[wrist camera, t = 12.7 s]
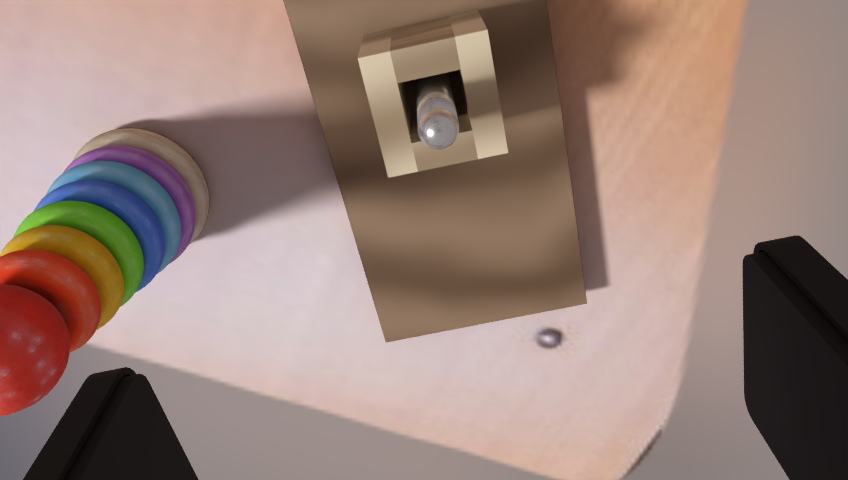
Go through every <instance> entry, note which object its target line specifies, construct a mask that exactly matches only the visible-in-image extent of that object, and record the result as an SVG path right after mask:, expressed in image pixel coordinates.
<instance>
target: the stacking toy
mask: <svg viewBox="0 0 848 480" xmlns="http://www.w3.org/2000/svg"><path fill="white" fill-rule="evenodd" d="M208 211H209V193H208V188H207V184H206V181H205V179H204V176H203V174H202V172H201V170H200V169H199V167H198V165H197V164H196V163H195V161H194V160H193V159H192V158H191V157H190V155H189V154H188V153H187V152H186V151H184V150H183V149H182V148H181V147H180V146H178V145H177V144H176V143H174V142H172V141H171V140H169V139H167V138H165V137H163V136H161V135H159V134H156V133H154V132H150V131H147V130H142V129H133V128H128V129H116V130H112V131H108V132H105V133H103V134H100V135H98V136H96V137H94V138H93V139H91V140H90V141H89V142H87V143H86V144H85V145H84V146H83V147H82V148H81V149H80V151H79V152H78V153H77V155H76V156H75V158H74V160H73V162H72V163H71V164H70V165H69V166H68V167H67V168H66V169H65V171H64V172H63V174H62V175H60V176H59V177H58V178H57V179H56V180H55V181H54V182H53V184H52V185H51V187H50V188H49V190H48V192H47V194H46V196H45V197H44V198H43V199H42V200H41V201H40V202H39V204H38V205H37V207H36V208H35V210H34V212H32V213H31V214H30V215H29V216H27V217H26V218H25V219H24V221H23V222H22V223H21V224H20V226H19V227H18V229H17V231H16V233H15V235H14V238H13V239H12V240H11V241H10V242H8V244H7V245H6V246H5V247H4V249H3V250H2V252H1V254H0V416H3V415H8V414H11V413H15V412H18V411H21V410H23V409H26V408H28V407H30V406H31V405H33V404H35V403H36V402H38V401H39V400H41V399H42V398H43V397H44V396H45V395H47V394H48V393H49V392H50V391H51V389H53V387H54V386H55V385H56V384H57V382H58V381H59V379H60V378H61V376H62V374H63V372H64V370H65V368H66V365H67V362H68V358H69V353H70V352H72V351H74V350H76V349H78V348H80V347H81V346H83V345H84V344H85V343H86V342H87V341H88V340H89V339H90V338H91V337H92V336H93V334H94V333H95V331H96V330H97V329H99V328H100V327H102V326H104V325H105V324H106V323H107V322H108V321H109V320H110V319H111V318H112V317H113V316H114V315H115V314H116V312H117V310H118V309H119V307H121V306H122V305H123V304H125V303H126V302H127V301H128V300H129V299H130V298H131V297H132V296H133V295H134V293H135V292H137V291H139V290H141V289H142V288H143V287H145V286H146V285H147V284H148V283H149V282H150V281H151V280H152V279H153V278H154V277H155V275H156V274H158V273H159V272H160V271H162V270H163V269H164V268H165V267H166V266H167V265H168V264H169V263H171V262H173V261H174V260H175V259H176V258H178V257H179V256H180V255H181V254H182V253H183V251H184V250H185V249H186V247H187V246H188V245H189V244H190V243H191V242H193V241H194V240H195V239H196V237H197V236H198V235H199V234H200V232H201V231H202V229H203V227H204V225H205V223H206V220H207V216H208Z"/></svg>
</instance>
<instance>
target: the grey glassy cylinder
mask: <svg viewBox="0 0 848 480" xmlns="http://www.w3.org/2000/svg"><path fill="white" fill-rule="evenodd" d="M416 98H417V123H418V134H419V137H420V139H421V141H422V142H423V143H424V144H425V145H426V146H428V147H430V148H432V149H437V150H440V149H445V148H447V147H449V146H451V145H452V144H453V143H454V142H455V141H456V139H457V137H458V134H459V123H458V118H457V113H456V108H455V103H454V98H453V93H452V88H451V83H450V78H449V74H448V72H447V73H442V74H438V75H433V76H429V77H424V78H419V79H416Z"/></svg>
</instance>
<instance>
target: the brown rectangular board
mask: <svg viewBox="0 0 848 480" xmlns="http://www.w3.org/2000/svg"><path fill="white" fill-rule="evenodd" d="M283 1H284V4H285V8H286V11H287V14H288V18H289V21H290V24H291V28H292V31H293V34H294V38H295V41H296V44H297V48H298V51H299V54H300V58H301V61H302V64H303V68H304V71H305V74H306V78H307V81H308V84H309V88H310V91H311V94H312V98H313V101H314V104H315V108H316V111H317V114H318V118H319V121H320V124H321V128H322V131H323V134H324V138H325V141H326V144H327V148H328V151H329V154H330V158H331V161H332V164H333V168H334V171H335V174H336V178H337V181H338V184H339V188H340V191H341V194H342V198H343V201H344V204H345V208H346V211H347V214H348V218H349V221H350V224H351V228H352V231H353V234H354V238H355V241H356V244H357V248H358V251H359V254H360V258H361V261H362V264H363V268H364V271H365V274H366V278H367V281H368V284H369V288H370V291H371V294H372V298H373V301H374V304H375V308H376V311H377V314H378V318H379V321H380V324H381V328H382V331H383V334H384V338H385V341H386V342H391V341H396V340H401V339H406V338H411V337H416V336H422V335H427V334H432V333H437V332H442V331H447V330H452V329H458V328H463V327H468V326H473V325H478V324H483V323H489V322H494V321H499V320H504V319H509V318H514V317H520V316H525V315H530V314H535V313H540V312H545V311H551V310H556V309H561V308H566V307H571V306H576V305H582V304H587V299H586V291H585V284H584V276H583V269H582V262H581V254H580V247H579V239H578V232H577V224H576V217H575V209H574V202H573V194H572V187H571V180H570V172H569V165H568V157H567V150H566V142H565V135H564V127H563V120H562V113H561V105H560V98H559V90H558V83H557V75H556V68H555V60H554V53H553V45H552V38H551V31H550V23H549V16H548V8H547V1H546V0H283ZM475 10H478V11H479V13H480V15H481V17H482V20H483V22H484V24H485V26H486V28H487V30H488V35H489V41H490V47H491V53H492V59H493V65H494V71H495V77H496V83H497V89H498V95H499V101H500V106H501V112H502V118H503V124H504V130H505V136H506V142H507V148H508V153H506V154H501V155H496V156H491V157H486V158H482V159H477V160H472V161H467V162H462V163H457V164H453V165H448V166H443V167H438V168H433V169H428V170H424V171H419V172H414V173H409V174H404V175H400V176H395V177H390V178H388V175H387V171H386V167H385V163H384V159H383V155H382V151H381V148H380V144H379V140H378V136H377V132H376V128H375V124H374V120H373V116H372V113H371V109H370V105H369V101H368V97H367V93H366V89H365V85H364V81H363V78H362V74H361V70H360V66H359V62H358V55H359V51H360V47H361V44H362V40H363V36H364V35H368V34H373V33H377V32H382V31H386V30H391V29H395V28H399V27H404V26H408V25H413V24H417V23H422V22H426V21H431V20H435V19H440V18H444V17H449V16H453V15H457V14H462V13H466V12H471V11H475ZM448 74H449V78H450V83H451V88H452V93H453V98H454V103H455V102H459V101H464V100H465V98H464V92H463V87H462V82H461V77H460V71H459V70H456V71H451V72H448ZM404 84H405V89H406V93H407V97H408V102H409V106H410V110H411V112H413V111H417V98H416V79H415V80H410V81H406V82H404Z"/></svg>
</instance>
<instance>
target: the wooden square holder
mask: <svg viewBox="0 0 848 480" xmlns="http://www.w3.org/2000/svg"><path fill="white" fill-rule="evenodd" d="M358 62H359V66H360V70H361V74H362V78H363V81H364V85H365V89H366V93H367V97H368V101H369V105H370V109H371V113H372V116H373V120H374V124H375V128H376V132H377V136H378V140H379V144H380V148H381V151H382V155H383V159H384V163H385V167H386V171H387V175H388V178H390V177H395V176H400V175H404V174H409V173H414V172H419V171H424V170H428V169H433V168H438V167H443V166H448V165H453V164H457V163H462V162H467V161H472V160H477V159H482V158H486V157H491V156H496V155H501V154H506V153H508V148H507V142H506V136H505V130H504V124H503V118H502V112H501V106H500V101H499V95H498V89H497V83H496V77H495V71H494V65H493V59H492V53H491V47H490V41H489V35H488V30H487V28H486V26H485V24H484V22H483V20H482V17H481V15H480V13H479V11H478V10H475V11H471V12H466V13H462V14H457V15H453V16H449V17H444V18H440V19H435V20H431V21H426V22H422V23H417V24H413V25H408V26H404V27H399V28H395V29H391V30H386V31H382V32H377V33H373V34H368V35H364V36H363V40H362V44H361V47H360V51H359V55H358ZM456 70H459V71H460V77H461V82H462V87H463V92H464V98H465V100H464V101H459V102H455V108H456V113H457V118H458V123H459V134H458V137H457V139H456V141H455V142H454V143H453V144H452V145H451V146H449V147H447V148H445V149H440V150H437V149H432V148H430V147H428V146H426V145H425V144H424V143H423V142H422V141H421V139H420V137H419V134H418V123H417V111H413V112H411V110H410V106H409V102H408V97H407V93H406V89H405V84H404V82H406V81H410V80H415V79H419V78H424V77H429V76H433V75H438V74H442V73H447V72H451V71H456Z"/></svg>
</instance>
